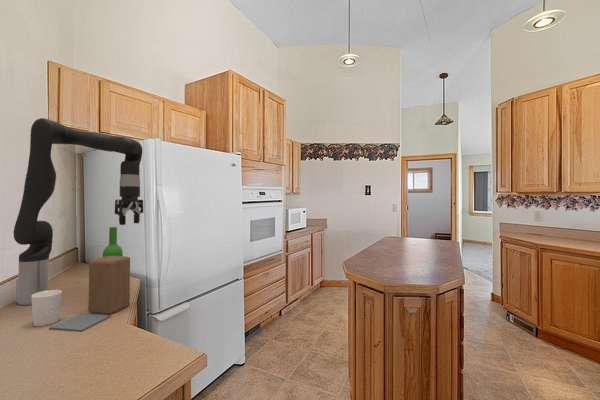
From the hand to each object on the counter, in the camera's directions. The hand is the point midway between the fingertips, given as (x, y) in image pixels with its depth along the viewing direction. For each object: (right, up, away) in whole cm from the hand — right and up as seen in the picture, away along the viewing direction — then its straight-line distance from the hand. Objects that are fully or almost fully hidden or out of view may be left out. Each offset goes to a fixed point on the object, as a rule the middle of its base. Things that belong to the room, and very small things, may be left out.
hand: (129, 224), depth 122 cm
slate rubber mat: (-3, -32, -23) cm, 40 cm away
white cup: (-15, -32, -23) cm, 42 cm away
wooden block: (-2, -33, -10) cm, 34 cm away
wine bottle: (-13, -32, +9) cm, 36 cm away
